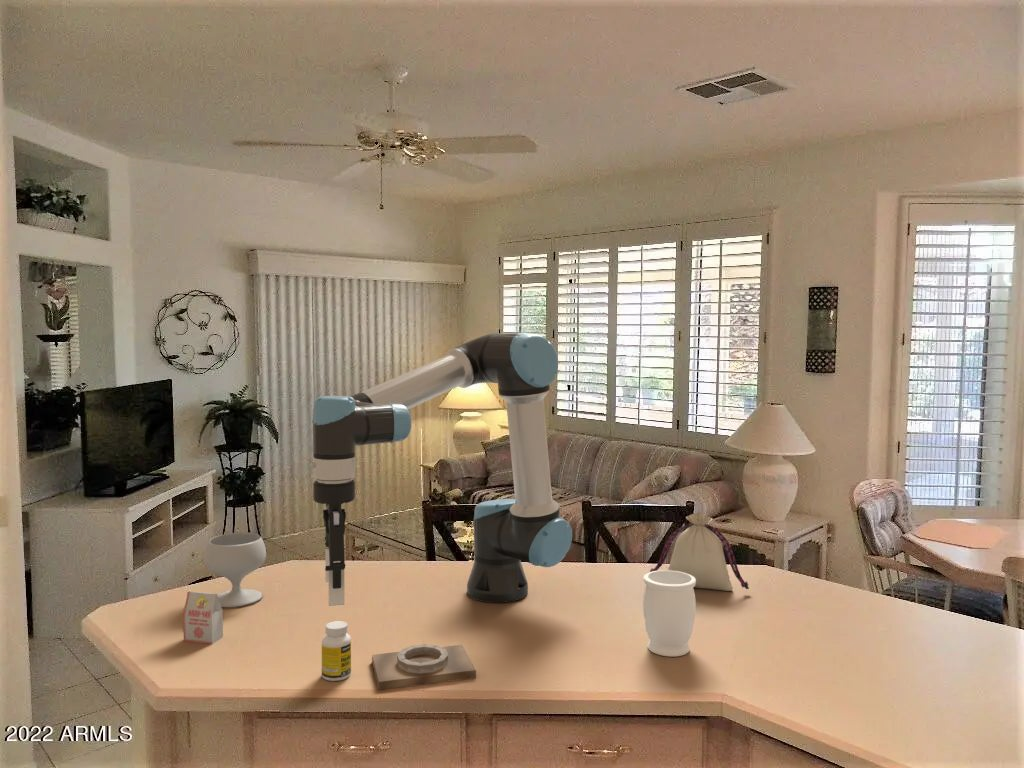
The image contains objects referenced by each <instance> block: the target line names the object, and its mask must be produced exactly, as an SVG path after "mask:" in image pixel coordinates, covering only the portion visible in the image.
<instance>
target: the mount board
mask: <svg viewBox="0 0 1024 768" xmlns="http://www.w3.org/2000/svg"><path fill="white" fill-rule="evenodd" d="M371 664H372V667H373V671H374V676H375V680H376V685H377V688H378V690H379V691H380V690H381V691H382V690H389V689H397V688H398V689H399V688H405V687H412V686H420V685H429V684H437V683H447V682H453V681H461V680H469V679H476V678H477V669H476V668H475V666H474V664H473V662H472V660H471V658H470V656H469V654H468V653H467V651H466V649H465V648H464V646H463V644H457V645H448V646H439V645H437V644H436V645H435V644H426V643H424V644H423V643H422V644H416V645H415V644H414V645H411V646H407V647H405V648H402V649H401V650H399V651H395V652H394V651H393V652H386V653H376V654H372V655H371Z"/></svg>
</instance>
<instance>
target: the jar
mask: <svg viewBox="0 0 1024 768" xmlns="http://www.w3.org/2000/svg"><path fill="white" fill-rule="evenodd" d="M643 582H644V584H645V588H644V592H643V601H642V608H643V609H642V611H643V618H644V626H645V632H646V633H647V636H648V639H649V641H648V643H647V649H648V650H650V652H652V653H653V654H655V655H659V656H663V657H671V658H673V657H681V656H684V655H685V656H686V655H687V654H688V653H689V651H690V650H691V647H690V646H689V644H688V642H689V641H690V639H691V636H692V633H693V629H694V624H695V619H696V612H697V609H696V608H697V607H696V606H697V605H696V604H697V603H696V595H695V590H694V588H695V587H694V586H695V585H696V579H695V577H693V576H692V575H690V574H687V573H684V572H679V571H671V570H668V569H667V570H666V569H665V570H663V569H662V570H661V569H660V570H659V569H658V570H657V571H652V572H650V571H649V572H646V573H645V574H644V575H643Z"/></svg>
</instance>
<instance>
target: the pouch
mask: <svg viewBox="0 0 1024 768" xmlns="http://www.w3.org/2000/svg"><path fill="white" fill-rule="evenodd" d="M685 518H686V520H687V521H689V523H688V524H686V525H683V526H681V527H679V528H678V529H676V530H675V531H674V532H672V533H671V535H670V536H669V537H668V538H667V540H666V542H665V544H664V546H663V548H662V551H661V553H660V557H659V560H658V562H657V564H656V566H655V567H654V568H652V567H651V568H650V569H649V572H652V571H659V569H660V568H661V567H662V565H664V563H665V560H666V558H667V557H668V554H669V551H670V548H671V545H672V543H673V541H674V539H675V538H676V537H677V535H678V534H679V533H680V534H679V535H678V537H677V538H676V542H675V544H674V545H675V546H674V548H673V552H672V554H671V559H670V562H669V567H668V568H667V570H671V571H679V572H684V573H687V574H690V575H692V576H693V577H695V579H696V585H695V586H694V587H693V588H696V589H697V588H698V589H707V590H716V591H717V590H718V591H722V592H724V591H726V592H732V591H733V589H734V588H733V585H732V582H731V580H730V578H731V577H730V575H729V570H728V566H727V561H726V558H725V554H724V549H725V551H726V555H727V558H728V561H729V565H730V567H731V570H732V572H733V574H734V576H735V577H736V578H737V580H738V581H739V582H740V586H741V588H745V589H746V590H749V589H750V587H749V583H748V581H744V579H743V577H742V576H741V574H740V571H739V568H738V564H737V561H736V557H735V554H734V551H733V548H732V547H731V544H730V543H729V541H728V540H727V538H726V537H725V536H724V535H723V534H722V532H720V531H719V530H717V529H716V528H715V527H714V526H712V525H709V524H710V522H711V521H712V520H713V518H712V517H710V516H708V515H706V513H705V512H696V513H692V514H690V515H687V516H686V517H685ZM684 529H685V530H684ZM683 530H684V531H683ZM722 544H723V546H724V549H723V546H722Z"/></svg>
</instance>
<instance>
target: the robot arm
mask: <svg viewBox="0 0 1024 768" xmlns="http://www.w3.org/2000/svg"><path fill="white" fill-rule="evenodd" d="M558 370H559V359H558V354H557V351H556V349H555V347H554V346H553V343H552V342H550V341H549V340H548V339H547V338H546V337H545V336H543V335H540V334H536V333H535V334H534V333H529V332H514V333H511V332H510V333H509V332H507V333H505V332H504V333H498V332H497V333H496V332H495V333H494V332H493V333H488V334H485V335H482V336H478V337H476V338H473V339H471V340H469V341H466V342H465V343H462V344H460V345H458V346H455V347H453V348H450V349H449V350H447V352H446V353H445V354H444V356H443V357H440V358H438V359H436V360H433V361H431V362H428V363H427V364H424V365H422V366H420V367H417V368H415V369H412V370H410V371H408V372H406V373H403V374H400V375H398V376H396V377H394V378H391V379H389V380H387V381H385V382H384V381H383V383H382V382H381V383H380V384H377V385H375V386H372V387H370V388H368V389H365V390H363V391H360V392H358V393H356V394H353V395H350V396H349V395H346V396H345V395H324V396H319V397H317V398H316V399H315V400H314V402H313V409H312V420H311V423H312V438H313V439H312V440H313V441H312V444H313V447H312V448H313V449H312V450H313V451H312V453H313V455H312V456H313V462H310V463H309V467H310V468H311V469H313V478H314V479H315V481H314V482H313V484H312V485H313V487H312V488H313V490H312V491H313V493H312V494H313V495H312V496H313V497H312V498H313V501H314V502H315V503H317V504H320V505H325V509H323V510H322V519H323V524H324V525H323V526H324V527H325V537H324V541H325V543H324V546H325V551H324V552H325V558H324V559H325V566H324V567H325V568H324V569H325V570H324V571H325V583H328V607H332V606H333V607H334V606H345V570H346V569H345V568H346V563H345V561H346V560H345V532H346V519H347V516H346V515H347V513H346V511H345V508H342V505H343V504H345V503H346V504H347V503H351V502H353V501H354V500H355V497H356V491H355V490H356V481H355V480H354V478H355V477H356V446H357V447H358V446H366V445H373V444H374V445H375V444H377V445H378V444H387V443H389V444H393V443H397V442H401V441H404V440H406V439H407V438H408V437H409V435H410V433H411V432H412V431H411V430H412V416H411V413H410V411H409V410H410V409H412V408H415V407H417V406H419V405H421V404H423V403H426V402H427V401H430V400H431V399H433V398H436V397H439V396H440V395H444V394H445V393H447V392H449V391H452V390H454V389H456V388H458V387H459V388H461V389H466V388H469V387H470V386H473V385H477V384H482V383H483V384H485V383H488V384H489V383H491V384H497V390H498V396H499V397H500V398H501V399H503V400H504V401H505V403H506V413H507V415H506V416H507V424H508V437H509V446H510V447H509V448H510V457H511V467H512V468H511V469H512V479H513V480H512V481H513V490H514V498H504V499H503V498H500V499H499V498H498V499H491V500H486V501H482V502H479V503H477V504H476V506H475V507H474V515H473V552H474V553H473V555H474V556H473V558H474V559H473V564H472V569H470V570H471V571H470V574H469V576H468V577H469V578H468V581H467V582H466V583H467V584H466V594H467V596H469V597H470V598H472V599H474V600H477V601H480V602H484V603H496V604H498V603H508V602H509V603H510V602H515V601H519V600H522V599H523V598H525V597H526V596H527V595H528V594H529V583H528V580H527V576H526V574H525V570H524V567H523V564H522V562H526V563H529V564H531V565H532V566H535V567H539V566H540V567H543V568H551V567H554V566H556V565H558V564H559V563H560V562H562V561H563V559H564V558H565V557H566V555H567V553H568V552H569V550H570V547H571V545H572V540H573V530H572V527H571V524H570V523H569V522H568V521H567V520H566V519H563V518H562V517H561V510H560V504H559V502H557V501H556V500H554V499H553V497H552V496H553V494H552V482H551V471H550V470H551V469H550V468H551V467H550V457H549V447H548V435H547V421H546V410H545V401H544V399H545V397H546V396H547V395H548V394H549V392H550V391H551V390H550V385H551V383H553V381H554V380H555V379H556V375H557V374H558Z"/></svg>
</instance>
